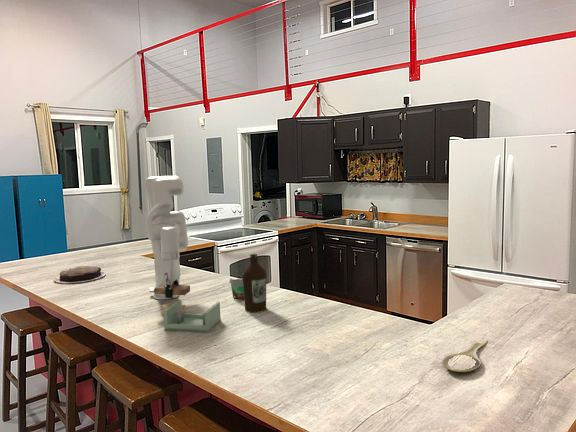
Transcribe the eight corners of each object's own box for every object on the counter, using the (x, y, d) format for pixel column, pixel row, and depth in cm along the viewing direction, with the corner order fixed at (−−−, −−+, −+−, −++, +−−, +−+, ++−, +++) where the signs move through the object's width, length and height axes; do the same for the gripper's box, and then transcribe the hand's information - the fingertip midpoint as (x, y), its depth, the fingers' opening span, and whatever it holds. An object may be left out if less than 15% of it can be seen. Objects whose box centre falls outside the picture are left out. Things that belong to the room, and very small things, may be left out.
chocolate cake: (42, 283, 268) (41, 272, 267) (77, 272, 295) (76, 261, 294) (83, 286, 260) (82, 274, 259) (115, 274, 286) (114, 263, 286)
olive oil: (239, 308, 212) (237, 254, 209) (260, 304, 217) (258, 251, 214) (251, 314, 203) (248, 257, 200) (272, 310, 209) (270, 254, 206)
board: (154, 293, 204) (154, 288, 204) (160, 289, 210) (160, 283, 210) (184, 295, 201) (184, 289, 201) (190, 291, 207) (190, 285, 207)
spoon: (469, 341, 172) (469, 335, 172) (500, 347, 166) (500, 342, 166) (434, 371, 145) (435, 364, 145) (470, 380, 138) (470, 373, 138)
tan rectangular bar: (162, 315, 206) (161, 306, 205) (164, 313, 208) (164, 304, 208) (183, 315, 204) (182, 306, 203) (185, 313, 206) (185, 305, 206)
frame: (164, 330, 187) (163, 311, 186) (179, 318, 200) (178, 300, 199) (208, 332, 183) (207, 312, 182) (220, 320, 197) (219, 301, 196)
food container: (231, 302, 222) (231, 281, 221) (230, 298, 228) (229, 278, 227) (257, 299, 225) (256, 278, 224) (255, 295, 231) (254, 275, 230)
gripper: (171, 250, 212) (173, 288, 215) (153, 259, 195) (155, 301, 198) (186, 250, 211) (188, 289, 214) (169, 260, 194) (172, 302, 197)
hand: (172, 294), depth 206 cm, fingers closed on board, 6 cm apart
